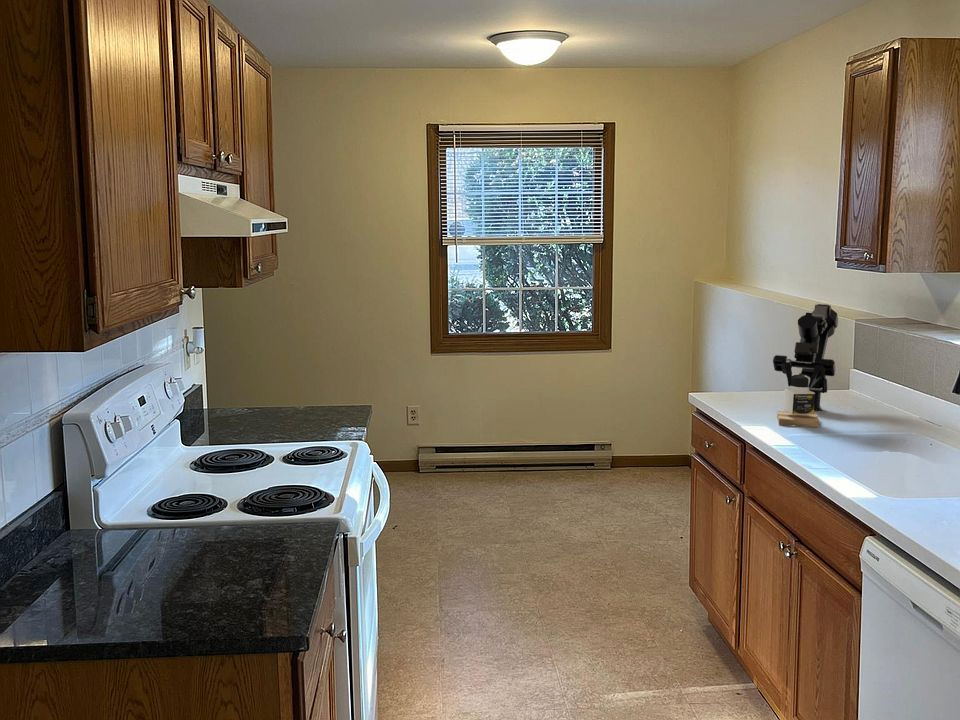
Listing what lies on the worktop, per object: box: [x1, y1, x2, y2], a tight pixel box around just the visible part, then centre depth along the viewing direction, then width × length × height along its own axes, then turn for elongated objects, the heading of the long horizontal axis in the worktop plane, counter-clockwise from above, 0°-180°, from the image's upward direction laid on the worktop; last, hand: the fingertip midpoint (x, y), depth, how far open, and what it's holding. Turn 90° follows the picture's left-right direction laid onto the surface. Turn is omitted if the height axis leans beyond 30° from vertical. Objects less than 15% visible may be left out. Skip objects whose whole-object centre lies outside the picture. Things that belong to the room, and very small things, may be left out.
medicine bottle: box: [782, 374, 815, 415], centre depth 305 cm, size 7×7×12 cm
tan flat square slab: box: [776, 410, 820, 428], centre depth 306 cm, size 12×12×2 cm
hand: (799, 386), depth 303 cm, fingers closed on medicine bottle, 6 cm apart
